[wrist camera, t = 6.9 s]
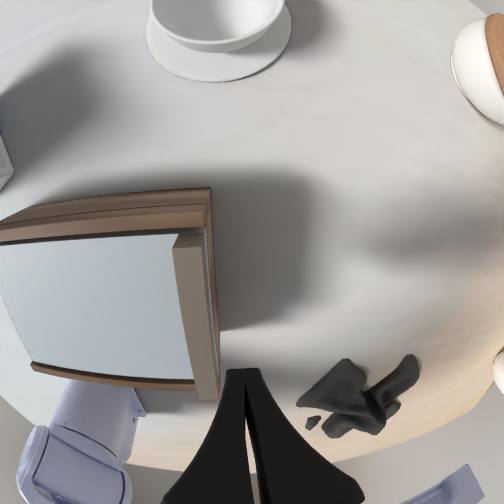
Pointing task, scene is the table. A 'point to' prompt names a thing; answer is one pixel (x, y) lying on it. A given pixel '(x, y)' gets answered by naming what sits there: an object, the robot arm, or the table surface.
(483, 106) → the lidded jar
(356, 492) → the robot arm
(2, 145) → the ink box
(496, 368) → the air blower bulb
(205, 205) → the walnut box
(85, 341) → the lid
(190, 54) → the teacup
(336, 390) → the cloth
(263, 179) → the table surface
